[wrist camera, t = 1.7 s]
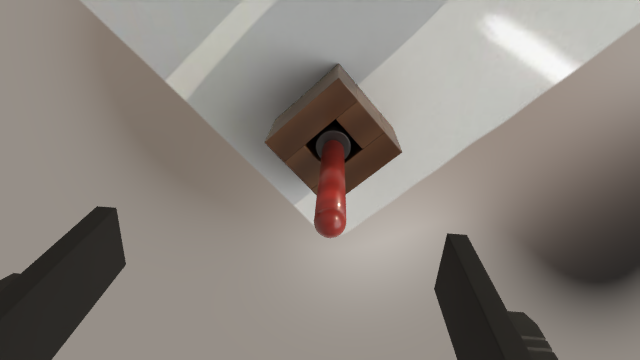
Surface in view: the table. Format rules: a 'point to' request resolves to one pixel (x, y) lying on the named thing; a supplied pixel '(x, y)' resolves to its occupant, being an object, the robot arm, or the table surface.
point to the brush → (331, 180)
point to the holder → (318, 112)
